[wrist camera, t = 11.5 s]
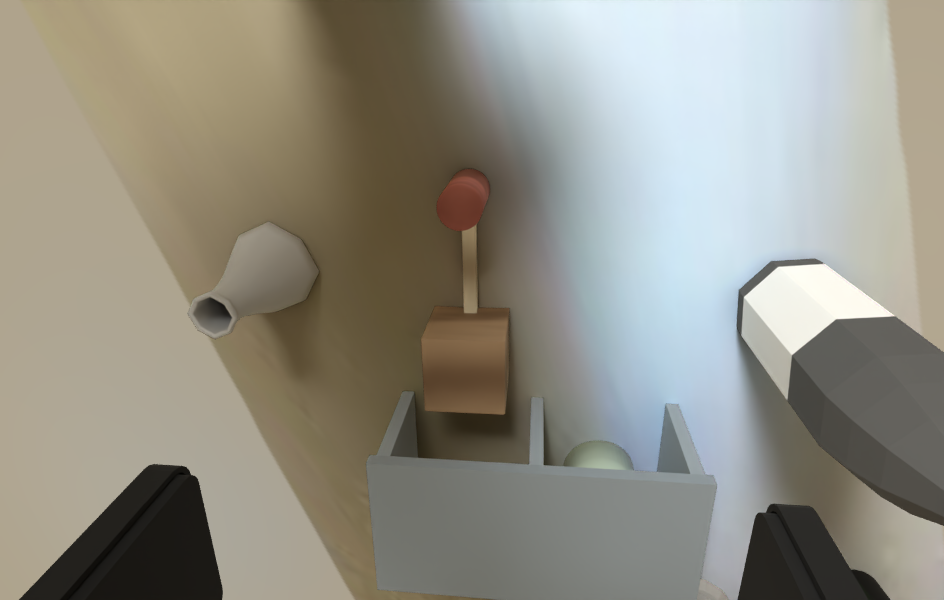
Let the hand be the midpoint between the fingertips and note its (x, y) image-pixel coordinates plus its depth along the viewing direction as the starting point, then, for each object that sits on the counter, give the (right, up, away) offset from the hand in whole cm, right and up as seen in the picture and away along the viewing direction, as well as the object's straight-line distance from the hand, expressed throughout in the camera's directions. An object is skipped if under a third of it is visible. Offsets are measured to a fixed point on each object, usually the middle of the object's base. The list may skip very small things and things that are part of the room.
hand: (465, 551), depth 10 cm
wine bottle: (+24, +4, +35) cm, 43 cm away
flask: (-16, +7, +39) cm, 42 cm away
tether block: (0, +6, +37) cm, 37 cm away
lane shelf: (+6, -10, +43) cm, 44 cm away
